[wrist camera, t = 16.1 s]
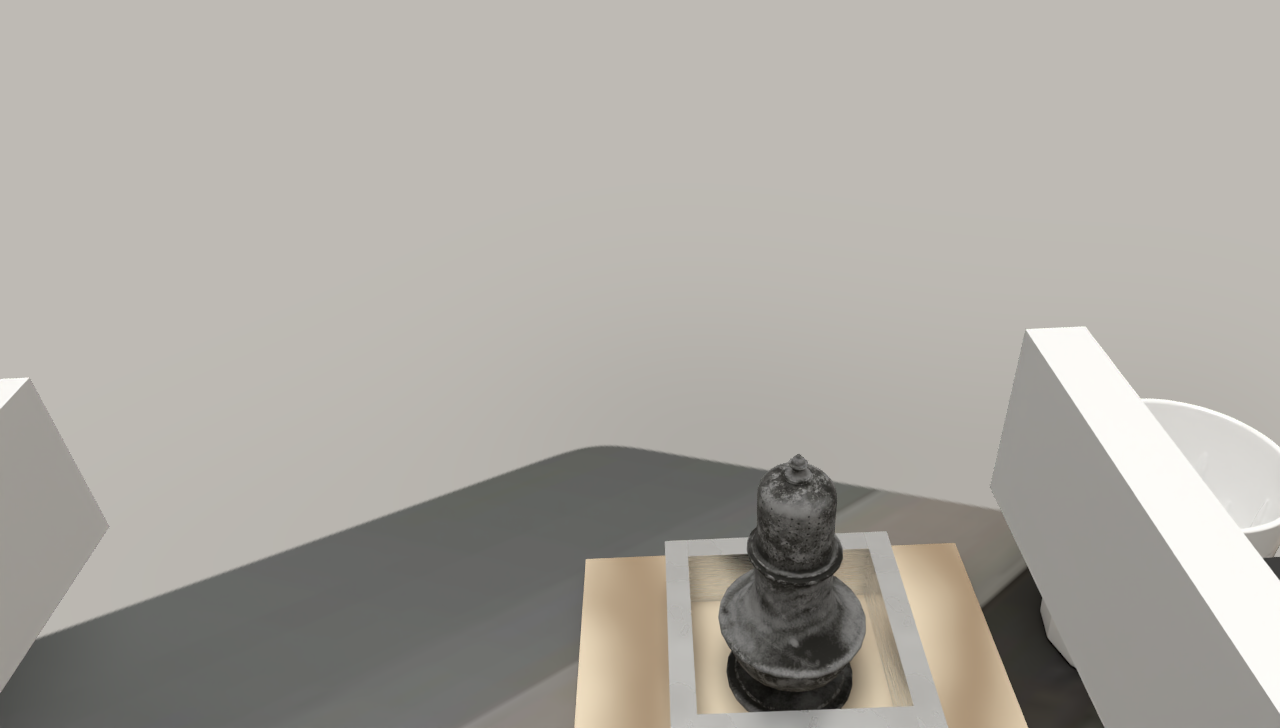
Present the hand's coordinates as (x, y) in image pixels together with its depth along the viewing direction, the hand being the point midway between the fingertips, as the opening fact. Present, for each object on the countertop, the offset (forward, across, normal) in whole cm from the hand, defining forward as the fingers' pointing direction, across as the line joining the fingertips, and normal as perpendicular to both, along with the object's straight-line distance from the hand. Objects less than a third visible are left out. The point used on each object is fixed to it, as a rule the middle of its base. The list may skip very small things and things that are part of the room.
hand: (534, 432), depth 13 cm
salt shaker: (+14, +7, -26) cm, 30 cm away
